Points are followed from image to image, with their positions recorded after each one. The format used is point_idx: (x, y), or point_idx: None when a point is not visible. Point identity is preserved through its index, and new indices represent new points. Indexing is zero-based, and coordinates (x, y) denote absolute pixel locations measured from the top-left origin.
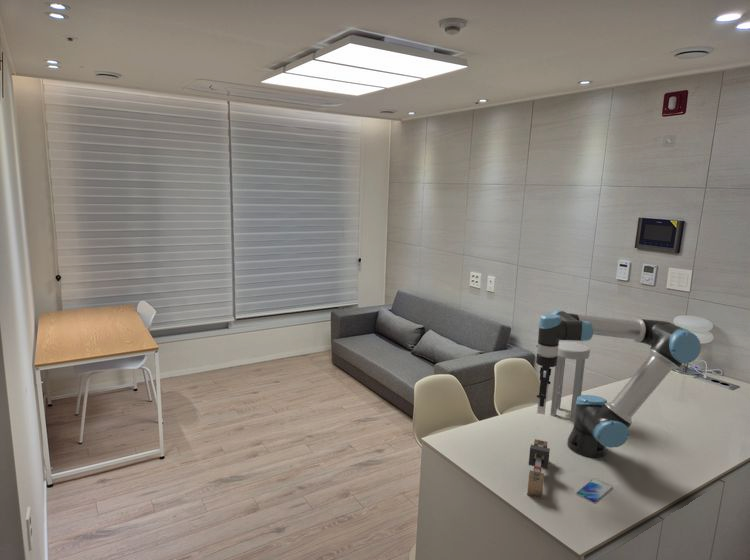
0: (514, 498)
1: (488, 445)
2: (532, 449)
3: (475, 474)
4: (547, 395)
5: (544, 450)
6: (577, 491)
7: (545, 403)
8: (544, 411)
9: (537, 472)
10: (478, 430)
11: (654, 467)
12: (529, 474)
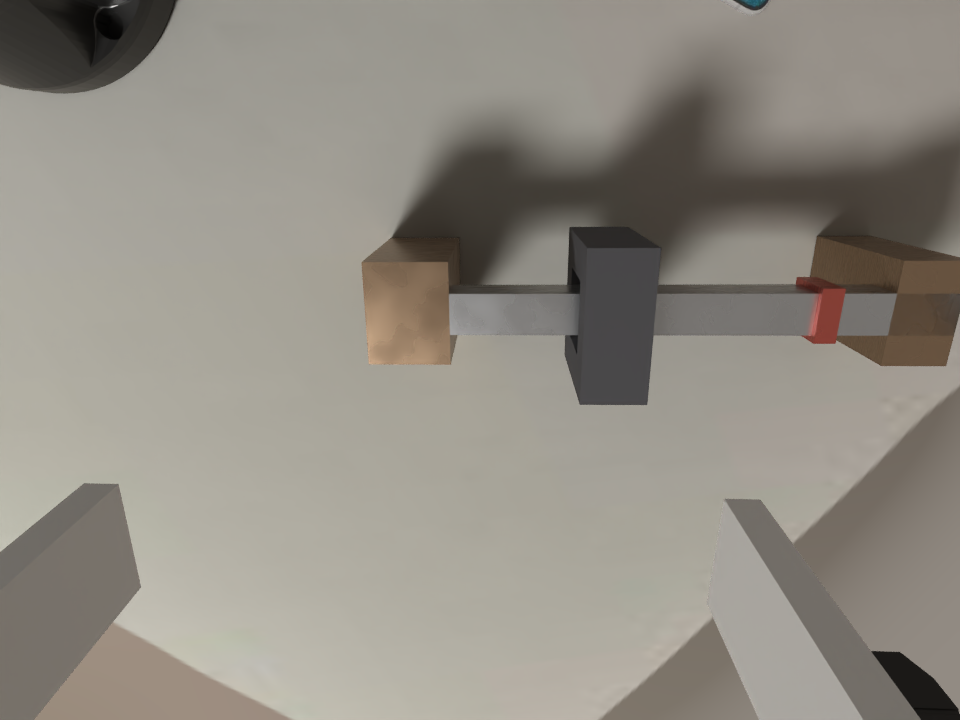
0: (905, 382)
1: (388, 568)
2: (646, 383)
3: None
4: (47, 551)
5: (644, 291)
6: (736, 3)
7: (887, 679)
8: (785, 542)
9: (899, 311)
10: (241, 635)
11: None
12: (942, 363)
